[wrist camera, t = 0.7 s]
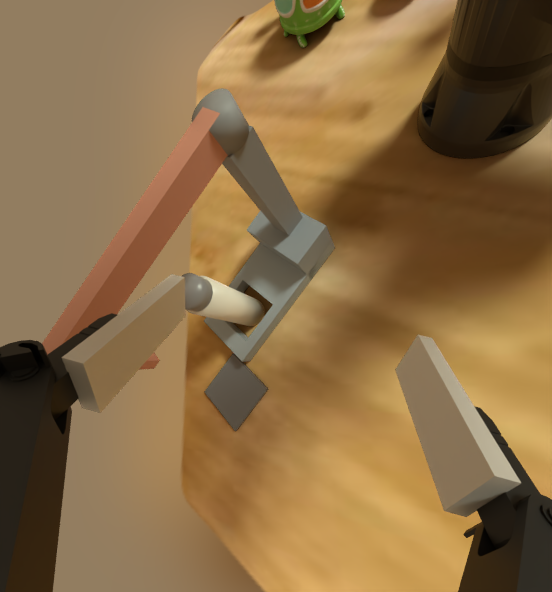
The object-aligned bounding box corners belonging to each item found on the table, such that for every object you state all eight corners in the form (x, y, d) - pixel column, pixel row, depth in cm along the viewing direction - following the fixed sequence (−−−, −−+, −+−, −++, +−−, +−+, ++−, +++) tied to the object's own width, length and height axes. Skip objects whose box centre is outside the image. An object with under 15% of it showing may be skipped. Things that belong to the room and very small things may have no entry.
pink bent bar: (267, 176, 27) (211, 84, 18) (290, 187, 26) (241, 93, 17) (142, 352, 29) (30, 351, 20) (156, 372, 27) (42, 382, 18)
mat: (234, 353, 39) (232, 353, 38) (268, 389, 35) (266, 389, 35) (206, 391, 39) (204, 391, 39) (236, 430, 36) (235, 431, 35)
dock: (287, 220, 41) (209, 104, 22) (335, 247, 36) (288, 132, 17) (212, 322, 42) (78, 297, 23) (250, 361, 38) (121, 368, 19)
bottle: (250, 293, 40) (186, 263, 27) (269, 309, 38) (210, 285, 25) (234, 315, 41) (163, 295, 27) (252, 331, 38) (185, 320, 25)
